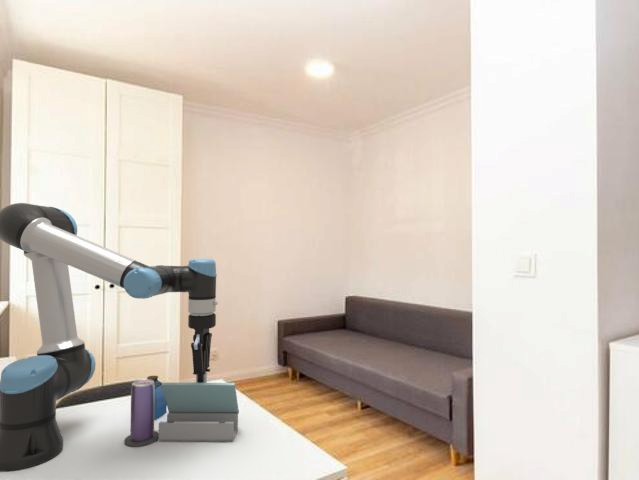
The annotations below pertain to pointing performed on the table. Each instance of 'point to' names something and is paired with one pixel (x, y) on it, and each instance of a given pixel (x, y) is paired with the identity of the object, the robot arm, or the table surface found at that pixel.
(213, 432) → the grey rectangular tray
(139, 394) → the beverage can
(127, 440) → the coaster
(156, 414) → the perfume bottle
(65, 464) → the table surface
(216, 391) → the cover
